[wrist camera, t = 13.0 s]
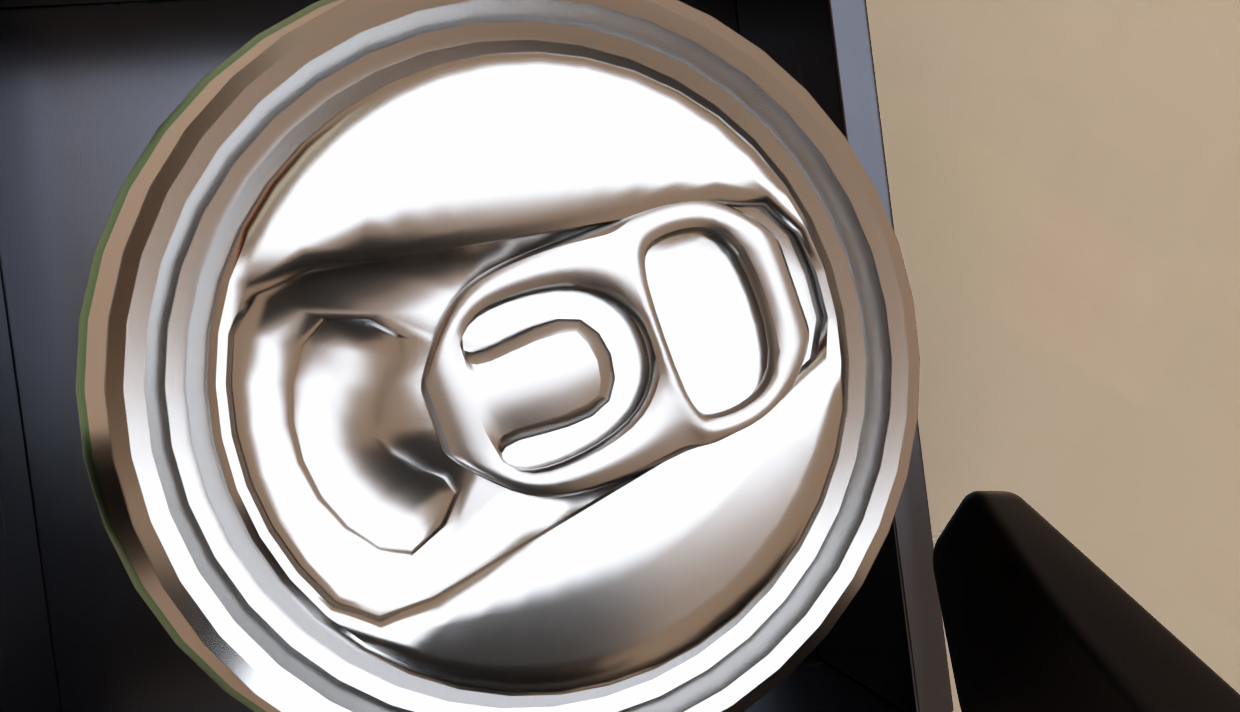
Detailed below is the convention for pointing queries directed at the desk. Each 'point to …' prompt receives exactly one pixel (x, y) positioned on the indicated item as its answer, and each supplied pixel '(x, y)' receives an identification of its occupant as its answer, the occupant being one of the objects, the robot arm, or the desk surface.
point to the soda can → (498, 363)
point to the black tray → (48, 341)
